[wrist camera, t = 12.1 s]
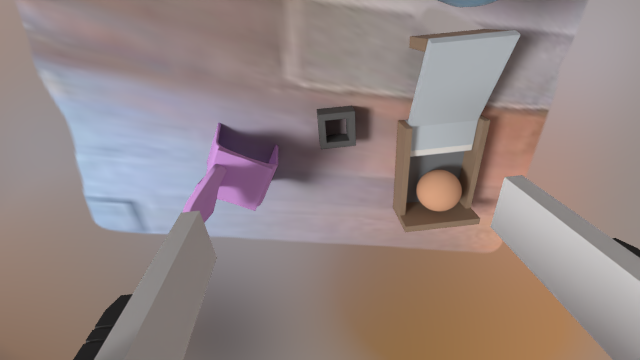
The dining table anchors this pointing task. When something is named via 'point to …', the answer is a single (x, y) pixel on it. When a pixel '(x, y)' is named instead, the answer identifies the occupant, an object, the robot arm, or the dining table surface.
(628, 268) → the robot arm
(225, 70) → the dining table surface
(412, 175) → the ramp with walled tray
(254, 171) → the toy chair
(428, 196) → the ball
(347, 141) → the square sleeve
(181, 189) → the dining table surface
